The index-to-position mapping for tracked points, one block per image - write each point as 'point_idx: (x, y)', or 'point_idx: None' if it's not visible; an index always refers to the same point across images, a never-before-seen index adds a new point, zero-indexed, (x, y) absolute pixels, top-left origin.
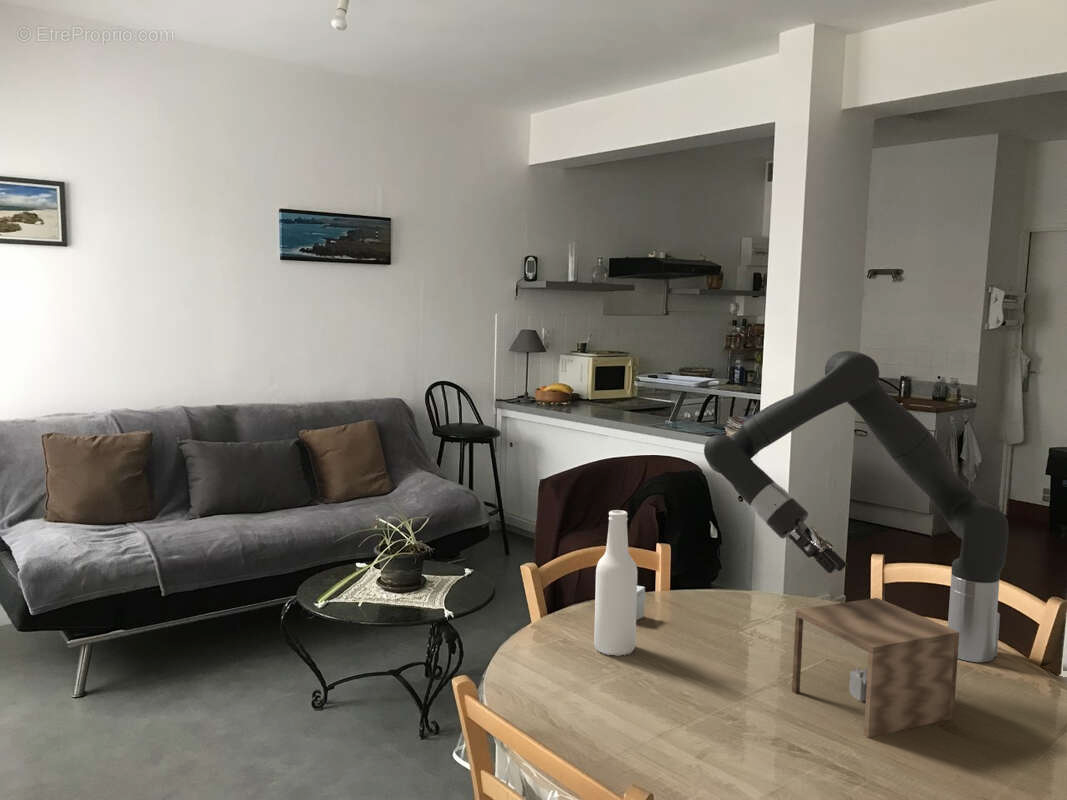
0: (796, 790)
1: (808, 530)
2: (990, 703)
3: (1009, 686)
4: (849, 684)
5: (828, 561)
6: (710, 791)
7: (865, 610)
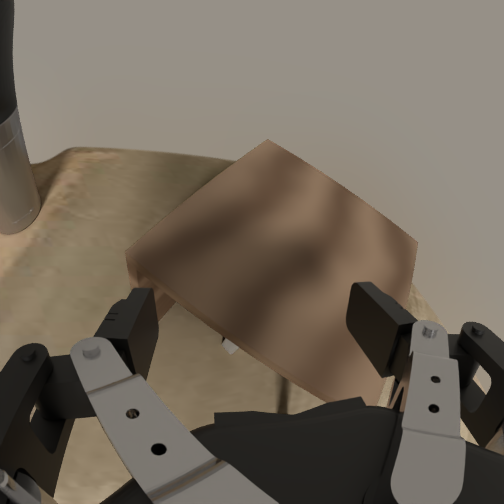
0: (447, 332)
1: (456, 468)
2: (164, 195)
3: (104, 178)
4: (234, 350)
5: (399, 305)
6: (477, 378)
7: (258, 269)
